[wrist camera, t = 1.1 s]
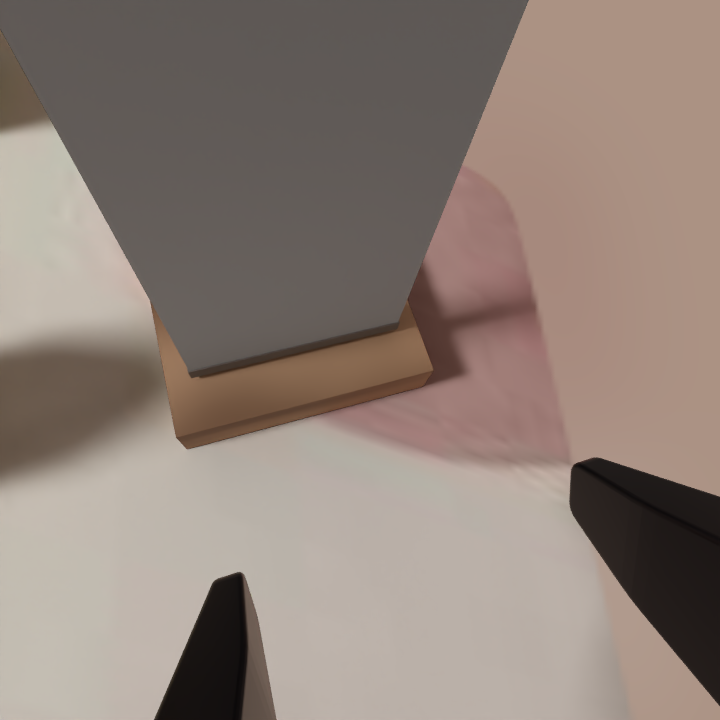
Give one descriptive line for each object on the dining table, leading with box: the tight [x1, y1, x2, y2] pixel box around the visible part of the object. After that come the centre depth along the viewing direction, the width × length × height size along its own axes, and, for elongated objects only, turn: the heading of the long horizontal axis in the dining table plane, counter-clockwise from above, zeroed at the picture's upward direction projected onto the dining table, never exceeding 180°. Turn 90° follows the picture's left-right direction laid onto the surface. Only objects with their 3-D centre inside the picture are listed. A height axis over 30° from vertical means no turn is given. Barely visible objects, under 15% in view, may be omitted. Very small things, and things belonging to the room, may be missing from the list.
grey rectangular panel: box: [0, 0, 528, 378], centre depth 14 cm, size 1×8×14 cm, turn 107°
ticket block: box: [150, 300, 434, 449], centre depth 22 cm, size 10×10×2 cm
